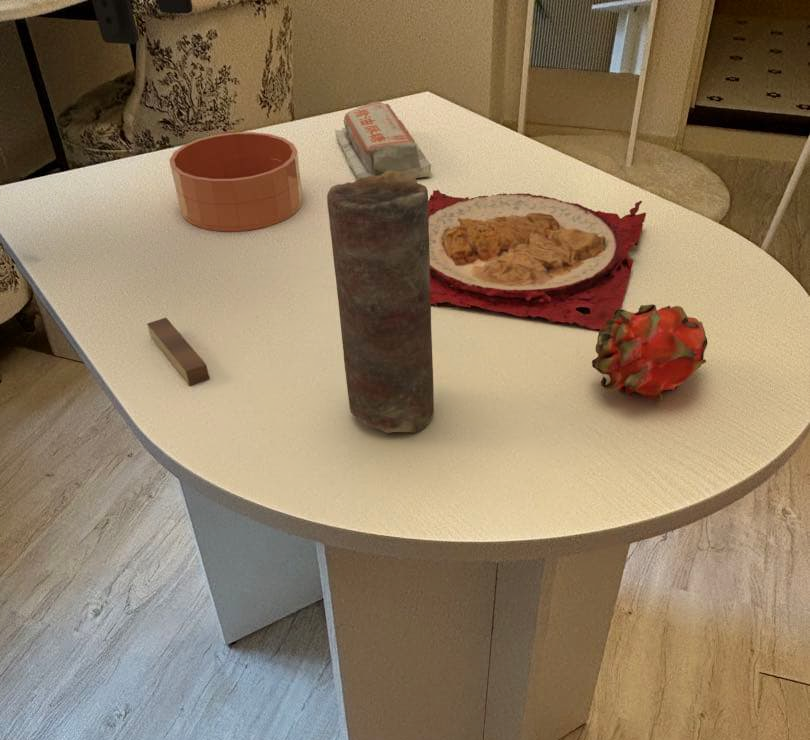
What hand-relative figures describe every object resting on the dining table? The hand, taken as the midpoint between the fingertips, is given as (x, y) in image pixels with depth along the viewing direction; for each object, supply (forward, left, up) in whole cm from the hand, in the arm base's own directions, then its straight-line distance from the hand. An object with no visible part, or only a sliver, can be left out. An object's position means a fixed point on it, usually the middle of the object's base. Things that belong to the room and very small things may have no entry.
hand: (150, 26), depth 70 cm
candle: (+31, -7, -24) cm, 40 cm away
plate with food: (+25, +23, -24) cm, 42 cm away
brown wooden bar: (+9, -12, -24) cm, 28 cm away
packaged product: (-6, +38, -24) cm, 45 cm away
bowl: (-11, +16, -24) cm, 31 cm away
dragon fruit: (+47, +10, -24) cm, 54 cm away
